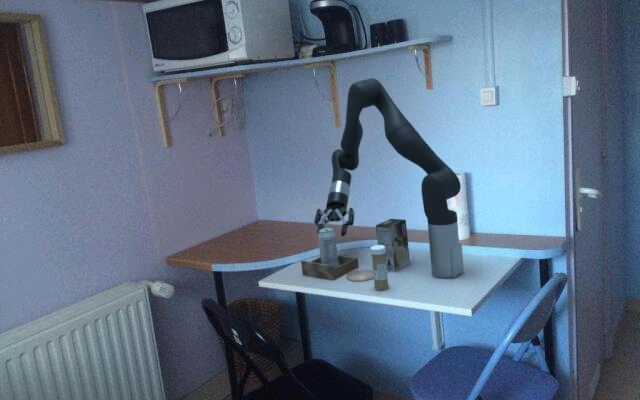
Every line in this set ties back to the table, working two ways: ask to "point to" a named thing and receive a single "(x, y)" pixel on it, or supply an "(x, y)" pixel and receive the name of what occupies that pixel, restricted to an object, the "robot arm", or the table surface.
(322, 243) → the energy drink can
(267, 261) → the table surface
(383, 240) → the coffee box
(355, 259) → the brown square open frame
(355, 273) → the terracotta saucer
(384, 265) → the sprinkles bottle
